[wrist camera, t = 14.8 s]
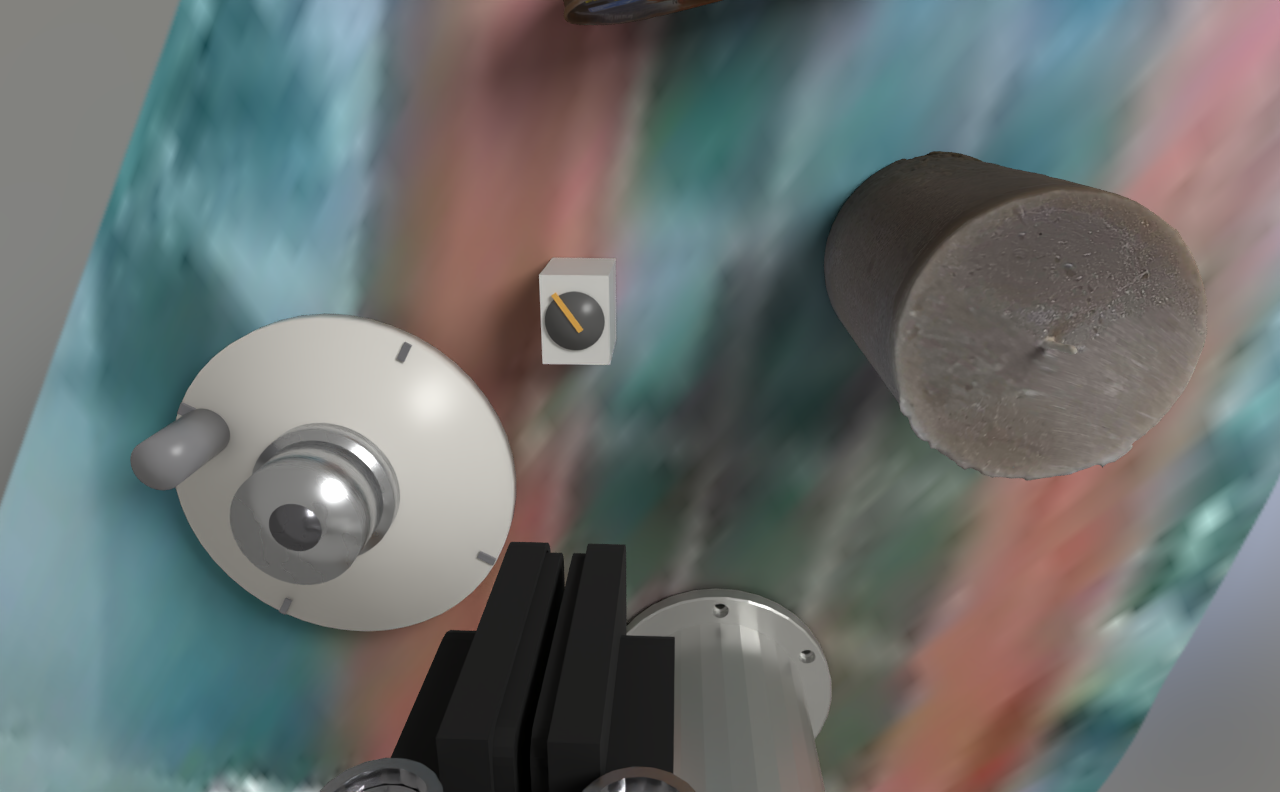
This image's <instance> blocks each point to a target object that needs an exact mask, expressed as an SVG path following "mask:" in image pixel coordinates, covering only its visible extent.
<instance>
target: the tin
mask: <svg viewBox="0 0 1280 792" xmlns="http://www.w3.org/2000/svg"><path fill="white" fill-rule="evenodd" d="M563 1H564V6H565V10H564V18H565V20H566V21H567V22H570V23H572V24H579V25H608V24H619V23H626V22H632V21H638V20H643V19H648V18H652V17H656V16H662V15H666V14H670V13H675V12H678V11H682V10H687V9H690V8H694V7H698V6H702V5H706V4H710V3H714V2H718V1H722V0H563Z"/></svg>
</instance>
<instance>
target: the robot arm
mask: <svg viewBox="0 0 1280 792" xmlns="http://www.w3.org/2000/svg"><path fill="white" fill-rule="evenodd" d="M831 699H832V691H831V677H830V672H829V668H828V664H827V660H826V658H825V655H824V653H823V650H822V647H821V645H820V643H819V642H818V640H817V639H816V637H815V636H814V634H813V633H812V631H811V630H810V629H809V628H808V627H807V626H806V625H805V624H804V623H803V622H802V621H801V620H800V619H799V618H798V617H797V616H796V615H795V614H793V613H792V612H790V611H789V610H787V609H786V608H784V607H783V606H781V605H780V604H778V603H776V602H774V601H771V600H769V599H767V598H764V597H762V596H760V595H756V594H752V593H748V592H744V591H740V590H731V589H717V588H713V589H703V590H692V591H689V592H685V593H681V594H678V595H674V596H671V597H668V598H666V599H664V600H662V601H660V602H658V603H656V604H653V605H652V606H650V607H649V608H647V609H646V610H645V611H643V612H642V613H640V614H639V615H637V616H636V617H635V618H634V619H633V620H632V621H631V622H630V623H629V624H628V625H627V626H626V546H625V545H618V544H588V546H587V551H586V554H581V553H574V554H573V556H572V560H571V564H570V568H569V573H568V577H567V581H566V586H565V584H564V559H563V554H562V553H550V546H549V543H536V542H510V544H509V546H508V549H507V552H506V554H505V557H504V559H503V562H502V565H501V567H500V570H499V573H498V575H497V578H496V581H495V583H494V586H493V588H492V591H491V594H490V596H489V599H488V602H487V604H486V607H485V610H484V612H483V615H482V617H481V620H480V623H479V625H478V628H477V631H460V630H450V631H448V632H446V634H445V636H444V637H443V639H442V641H441V644H440V646H439V648H438V651H437V653H436V655H435V658H434V660H433V662H432V664H431V667H430V669H429V671H428V674H427V676H426V678H425V681H424V683H423V685H422V687H421V690H420V692H419V694H418V697H417V699H416V701H415V703H414V706H413V708H412V710H411V713H410V715H409V717H408V720H407V722H406V724H405V726H404V729H403V731H402V733H401V736H400V738H399V740H398V742H397V745H396V747H395V749H394V752H393V754H392V756H391V758H383V759H378V760H373V761H368V762H364V763H362V764H360V765H357V766H355V767H352V768H350V769H348V770H345V771H344V772H342V773H341V774H340V775H338V776H337V777H335V778H334V779H332V780H331V781H329V782H328V783H327V784H326V785H325V786H324V787H323V788H322V789H321V790H320V792H825V788H824V783H823V779H822V774H821V769H820V764H819V759H818V754H817V750H816V745H815V738H816V737H817V736H818V734H819V733H820V731H821V729H822V727H823V725H824V723H825V721H826V719H827V716H828V713H829V708H830V703H831Z"/></svg>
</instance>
